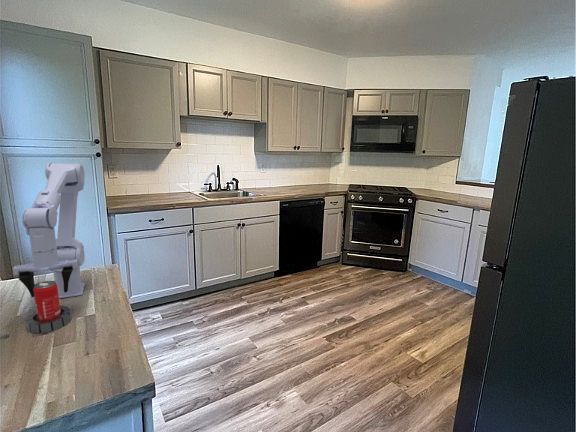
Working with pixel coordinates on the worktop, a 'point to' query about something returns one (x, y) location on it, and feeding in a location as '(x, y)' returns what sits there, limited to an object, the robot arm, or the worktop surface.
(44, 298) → the beverage can
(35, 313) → the collar ring
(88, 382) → the worktop surface
